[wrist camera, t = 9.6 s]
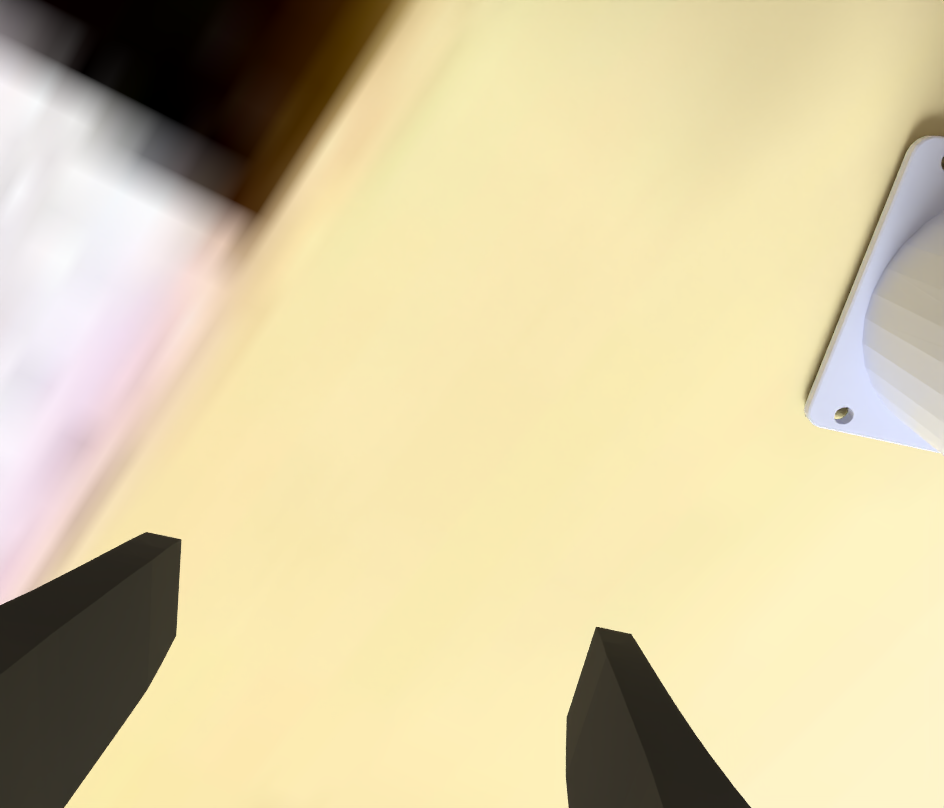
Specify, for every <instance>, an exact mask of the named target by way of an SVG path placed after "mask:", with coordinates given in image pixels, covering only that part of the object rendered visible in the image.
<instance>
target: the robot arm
mask: <svg viewBox="0 0 944 808" xmlns="http://www.w3.org/2000/svg"><path fill="white" fill-rule="evenodd" d="M943 157H944V137H943V136H924V137H922V138H919V139H917V140H916V141H915V142H914V143H912V144H911V145H910V147H909V149H908V150H907V152H906V154H905V157H904V159H903V162H902V164H901V167H900V169H899V172H898V174H897V177H896V179H895V182H894V184H893V187H892V189H891V192H890V194H889V197H888V199H887V202H886V204H885V207H884V209H883V212H882V214H881V216H880V219H879V221H878V224H877V226H876V229H875V231H874V234H873V236H872V239H871V241H870V244H869V246H868V249H867V251H866V254H865V256H864V259H863V261H862V264H861V266H860V269H859V271H858V274H857V276H856V279H855V281H854V284H853V286H852V289H851V291H850V294H849V296H848V299H847V301H846V304H845V306H844V309H843V311H842V314H841V316H840V319H839V321H838V324H837V326H836V329H835V331H834V334H833V336H832V339H831V341H830V344H829V346H828V348H827V351H826V353H825V356H824V358H823V361H822V363H821V366H820V368H819V371H818V373H817V376H816V378H815V381H814V383H813V386H812V388H811V391H810V393H809V396H808V398H807V401H806V403H805V408H804V412H805V416H806V417H807V418H808V419H809V420H810V422H811V423H812V424H813V425H815V426H818V427H820V428H825V429H830V430H834V431H839V432H844V433H848V434H853V435H858V436H862V437H867V438H872V439H876V440H881V441H886V442H890V443H895V444H900V445H905V446H909V447H914V448H919V449H923V450H928V451H933V452H937V453H941V454H942V455H943V456H944V170H943V169H942V166H941V161H942V158H943ZM842 407H848V413H847V414H846V415H845V417H843V418H841V419H834V415H835V413H836V411H837V410H838V409H840V408H842ZM180 555H181V539H176V538H172V537H167V536H162V535H157V534H153V533H148V532H146V533H144V534H141V535H139V536H137V537H135V538H133V539H131V540H129V541H127V542H125V543H123V544H121V545H119V546H118V547H116V548H114V549H112V550H110V551H108V552H106V553H104V554H102V555H100V556H99V557H97V558H95V559H93V560H91V561H89V562H87V563H85V564H83V565H81V566H80V567H78V568H76V569H74V570H72V571H70V572H68V573H66V574H64V575H62V576H60V577H58V578H56V579H54V580H52V581H50V582H48V583H46V584H44V585H42V586H40V587H38V588H36V589H34V590H32V591H30V592H28V593H26V594H24V595H21V596H19V597H17V598H15V599H13V600H11V601H8V602H6V603H4V604H2V605H0V808H64V807H65V806H66V804H67V803H68V801H69V800H70V799H71V797H72V796H73V794H74V793H75V791H76V790H77V789H78V787H79V786H80V784H81V783H82V782H83V780H84V779H85V777H86V776H87V775H88V773H89V772H90V770H91V769H92V768H93V766H94V765H95V763H96V762H97V760H98V759H99V758H100V756H101V755H102V753H103V752H104V751H105V749H106V748H107V746H108V745H109V744H110V742H111V741H112V739H113V738H114V737H115V735H116V734H117V732H118V731H119V729H120V728H121V727H122V725H123V724H124V722H125V721H126V719H127V718H128V717H129V715H130V714H131V712H132V711H133V709H134V708H135V707H136V705H137V704H138V702H139V701H140V699H141V698H142V696H143V695H144V693H145V692H146V691H147V689H148V687H149V685H150V684H151V682H152V680H153V678H154V676H155V675H156V673H157V671H158V669H159V667H160V666H161V664H162V662H163V660H164V658H165V656H166V654H167V652H168V650H169V648H170V646H171V644H172V642H173V641H174V639H175V637H176V628H177V610H178V592H179V573H180ZM566 783H567V794H568V804H569V808H751V807H750V806H749V805H748V803H747V802H746V801H745V800H744V798H743V797H742V796H741V795H740V793H739V792H738V791H737V790H736V789H735V787H734V786H733V785H732V783H731V782H730V781H729V779H728V778H727V777H726V775H725V774H724V773H723V771H722V770H721V769H720V767H719V766H718V765H717V764H716V762H715V761H714V760H713V758H712V757H711V756H710V754H709V753H708V751H707V750H706V749H705V747H704V746H703V744H702V743H701V742H700V740H699V739H698V737H697V736H696V735H695V733H694V732H693V730H692V729H691V727H690V726H689V724H688V723H687V721H686V720H685V718H684V717H683V715H682V714H681V712H680V711H679V709H678V708H677V706H676V705H675V703H674V702H673V700H672V699H671V697H670V695H669V694H668V692H667V691H666V689H665V687H664V686H663V684H662V683H661V681H660V679H659V678H658V676H657V675H656V673H655V671H654V670H653V668H652V667H651V665H650V663H649V662H648V660H647V658H646V657H645V655H644V654H643V652H642V650H641V649H640V647H639V646H638V644H637V642H636V641H635V639H634V638H633V636H632V635H631V634H628V633H623V632H619V631H614V630H609V629H604V628H600V627H596V629H595V632H594V635H593V638H592V641H591V644H590V647H589V650H588V653H587V657H586V660H585V663H584V666H583V669H582V672H581V675H580V678H579V681H578V684H577V687H576V691H575V694H574V697H573V700H572V703H571V706H570V709H569V712H568V715H567V730H566Z"/></svg>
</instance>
